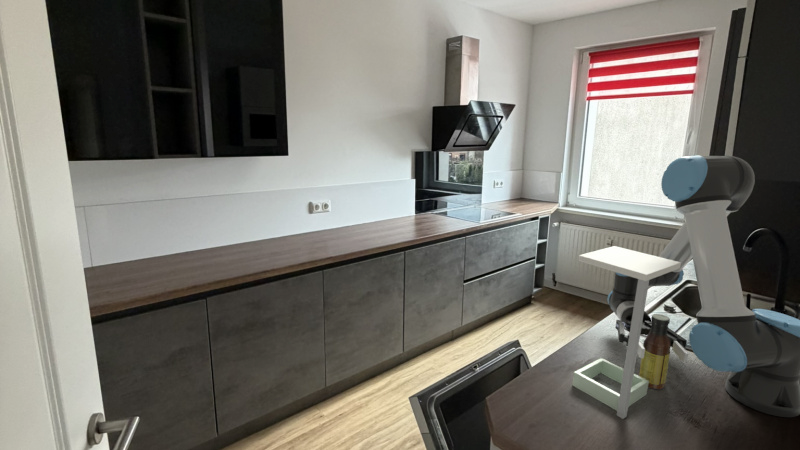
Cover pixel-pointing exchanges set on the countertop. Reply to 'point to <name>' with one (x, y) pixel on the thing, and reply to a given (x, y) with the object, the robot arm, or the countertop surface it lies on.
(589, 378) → the frame
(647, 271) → the c-shaped side table
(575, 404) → the countertop surface
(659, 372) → the sauce bottle
